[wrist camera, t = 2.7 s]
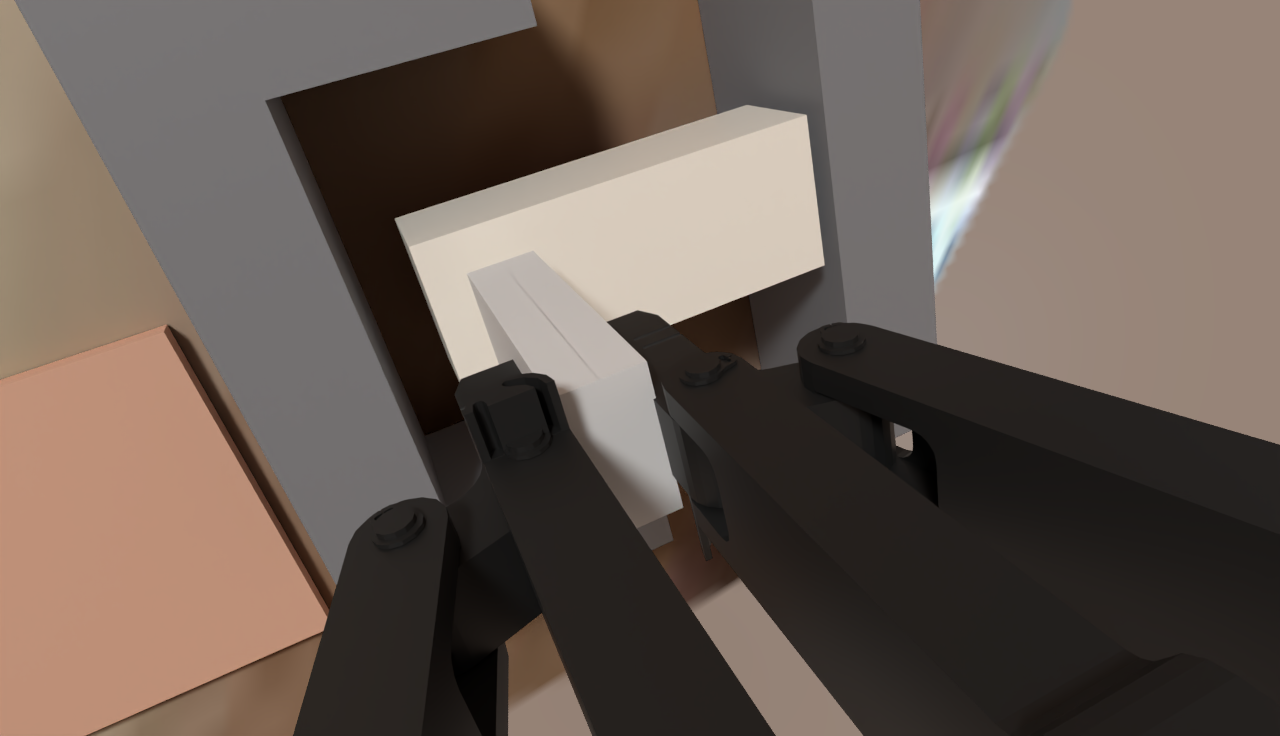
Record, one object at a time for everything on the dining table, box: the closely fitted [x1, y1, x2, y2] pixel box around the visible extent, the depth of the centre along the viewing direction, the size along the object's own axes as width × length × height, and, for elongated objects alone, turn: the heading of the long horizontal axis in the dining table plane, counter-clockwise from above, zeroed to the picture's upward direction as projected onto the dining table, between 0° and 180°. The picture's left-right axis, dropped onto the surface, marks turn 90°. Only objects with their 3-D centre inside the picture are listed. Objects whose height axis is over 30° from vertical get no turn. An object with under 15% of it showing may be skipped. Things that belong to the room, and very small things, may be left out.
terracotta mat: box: [0, 325, 329, 736], centre depth 22 cm, size 11×11×1 cm
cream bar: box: [394, 105, 825, 382], centre depth 20 cm, size 10×4×3 cm, turn 104°
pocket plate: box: [15, 0, 937, 585], centre depth 21 cm, size 18×17×6 cm
